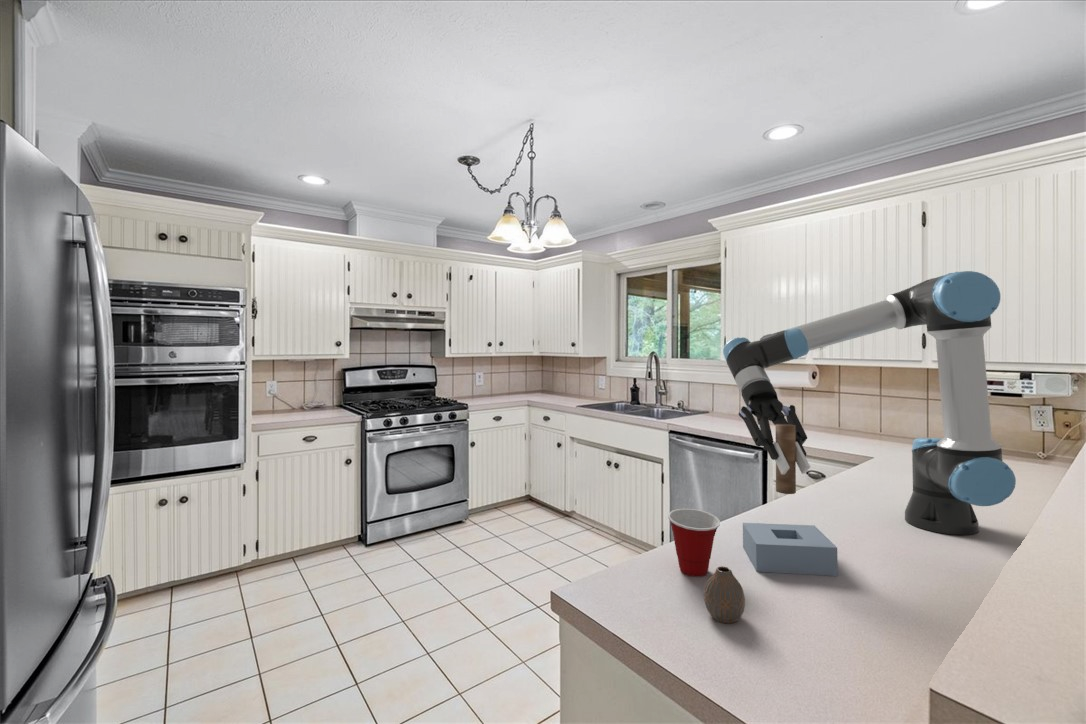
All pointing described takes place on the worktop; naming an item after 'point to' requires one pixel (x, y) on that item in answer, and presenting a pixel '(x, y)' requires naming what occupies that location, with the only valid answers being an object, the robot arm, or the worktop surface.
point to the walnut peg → (788, 447)
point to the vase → (724, 596)
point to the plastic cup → (693, 539)
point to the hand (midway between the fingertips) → (795, 470)
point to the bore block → (789, 549)
